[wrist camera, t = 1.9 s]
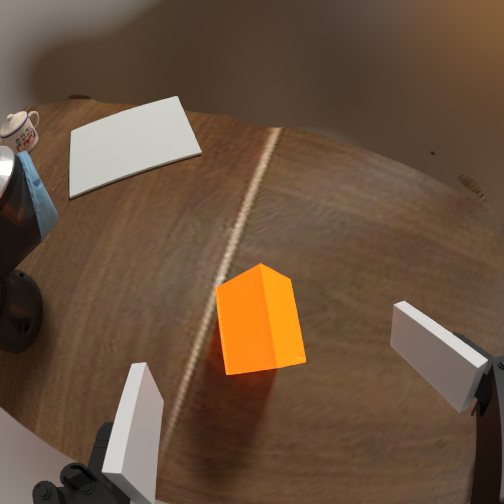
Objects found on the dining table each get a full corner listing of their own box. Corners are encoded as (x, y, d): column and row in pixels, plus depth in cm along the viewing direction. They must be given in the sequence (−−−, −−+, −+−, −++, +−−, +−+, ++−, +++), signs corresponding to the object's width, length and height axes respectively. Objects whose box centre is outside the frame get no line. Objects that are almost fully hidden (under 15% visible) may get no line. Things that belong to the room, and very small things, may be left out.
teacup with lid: (22, 162, 50) (3, 131, 39) (9, 155, 51) (-10, 127, 40) (52, 129, 55) (37, 97, 44) (36, 125, 56) (22, 95, 45)
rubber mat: (71, 198, 47) (69, 197, 46) (72, 132, 54) (71, 131, 54) (201, 154, 54) (201, 151, 53) (177, 97, 61) (177, 96, 61)
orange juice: (225, 374, 38) (226, 376, 19) (217, 315, 41) (212, 266, 23) (279, 366, 39) (326, 359, 21) (269, 309, 42) (304, 256, 24)
